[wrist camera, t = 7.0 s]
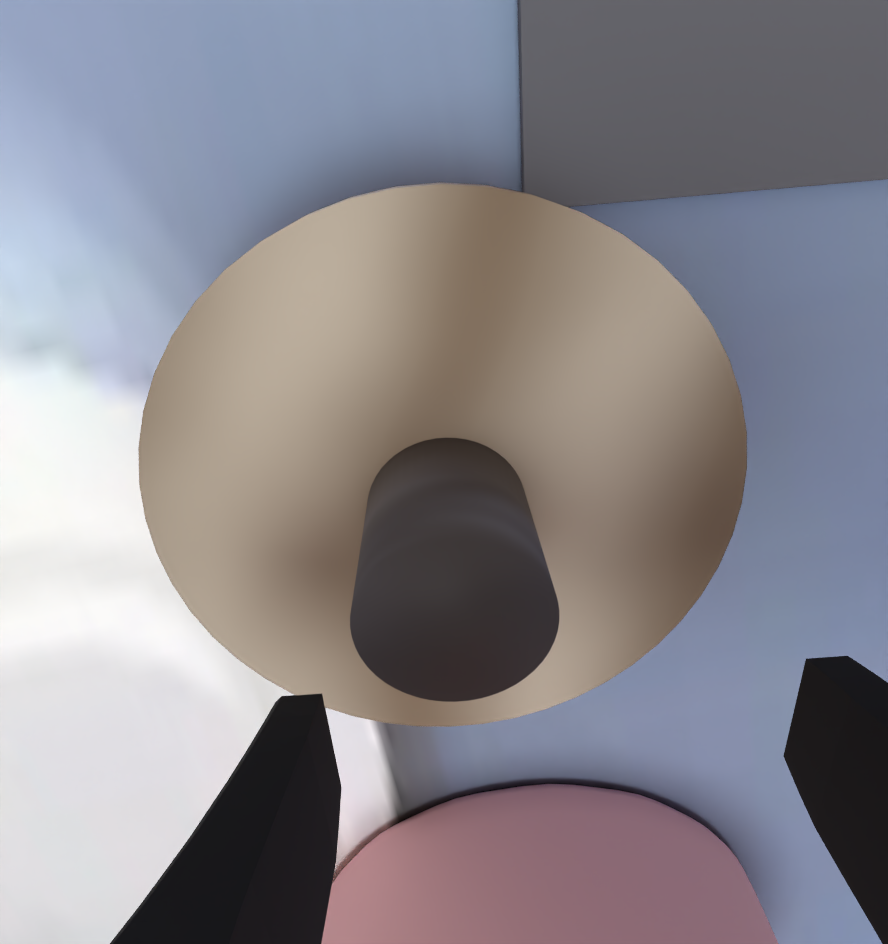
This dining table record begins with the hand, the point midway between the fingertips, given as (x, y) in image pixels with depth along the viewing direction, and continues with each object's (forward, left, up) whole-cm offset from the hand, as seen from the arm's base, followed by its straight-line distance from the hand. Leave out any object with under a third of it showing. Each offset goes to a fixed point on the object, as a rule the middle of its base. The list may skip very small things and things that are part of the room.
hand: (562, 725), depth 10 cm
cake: (0, +24, -11) cm, 26 cm away
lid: (+2, -1, -5) cm, 6 cm away
